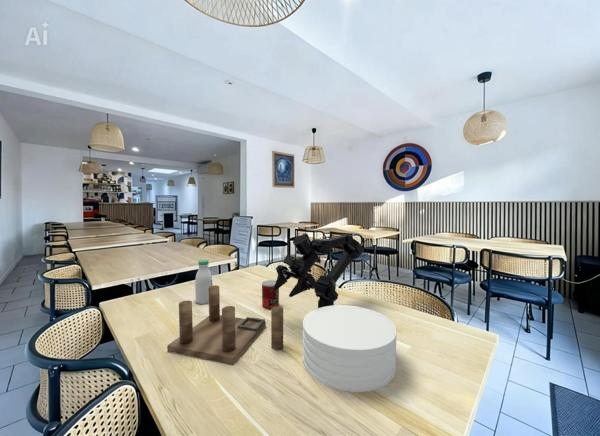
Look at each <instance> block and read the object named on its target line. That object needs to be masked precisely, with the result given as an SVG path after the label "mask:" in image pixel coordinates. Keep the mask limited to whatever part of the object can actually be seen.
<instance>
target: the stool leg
mask: <svg viewBox="0 0 600 436" xmlns="http://www.w3.org/2000/svg"><path fill="white" fill-rule="evenodd" d="M270 310H271V314H270V315H271V317H270V318H271V324H270V325H271V331H270V332H271V333H270V334H271V335H270V336H271V337H270V339H271V345H270V347H271V349H272V350H274V351H279V350H282V349H283V348H284V307H282V306H279V305H278V306H276V307H273V308H271V309H270Z"/></svg>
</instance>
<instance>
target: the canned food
mask: <svg viewBox="0 0 600 436" xmlns="http://www.w3.org/2000/svg"><path fill="white" fill-rule="evenodd" d="M275 283H276V280H272V279H269V280H265V281H262V283H261V303H262V304H261V306H262V307H263V308H264V309H266V310H271V308H273V307H276V306H279V305H280V288H278V289H277V290H275V291H274V289H273V288H274V285H275Z"/></svg>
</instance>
